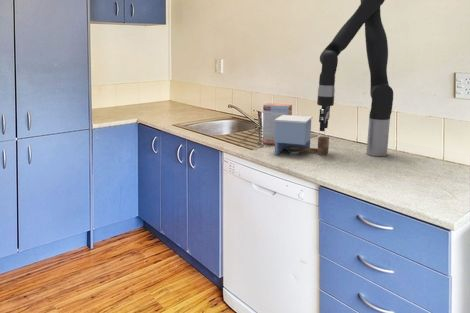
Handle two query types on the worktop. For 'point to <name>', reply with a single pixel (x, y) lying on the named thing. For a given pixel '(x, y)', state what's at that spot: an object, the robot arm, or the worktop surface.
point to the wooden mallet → (322, 148)
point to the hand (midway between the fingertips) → (323, 129)
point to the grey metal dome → (294, 152)
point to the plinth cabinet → (292, 132)
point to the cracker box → (268, 120)
